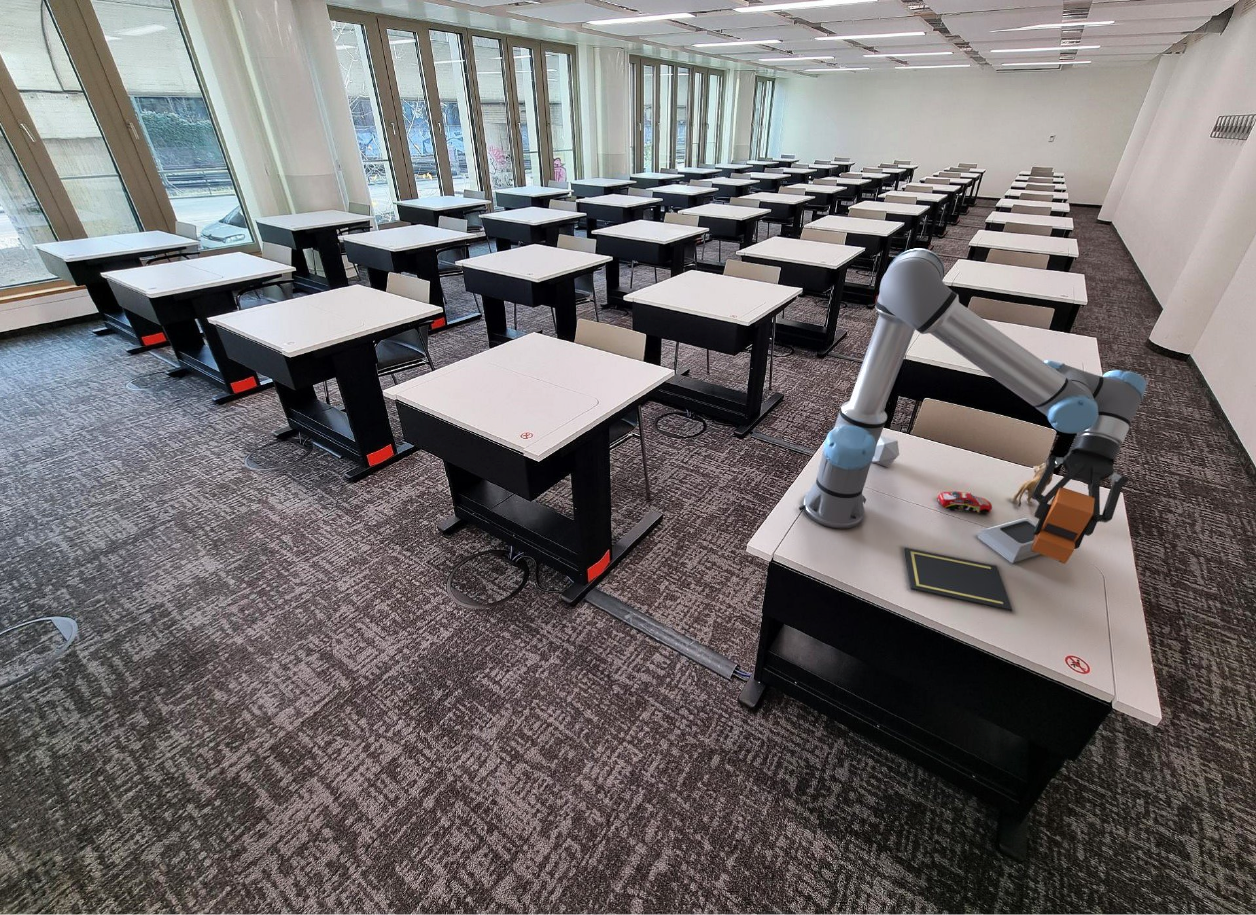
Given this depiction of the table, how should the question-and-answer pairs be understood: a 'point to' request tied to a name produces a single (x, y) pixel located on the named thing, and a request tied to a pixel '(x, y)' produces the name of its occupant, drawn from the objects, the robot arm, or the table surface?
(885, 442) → the die
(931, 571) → the mat
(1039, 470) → the lion figurine
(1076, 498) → the toy van
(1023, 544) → the grey low boxy piece
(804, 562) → the table surface
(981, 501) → the race car
